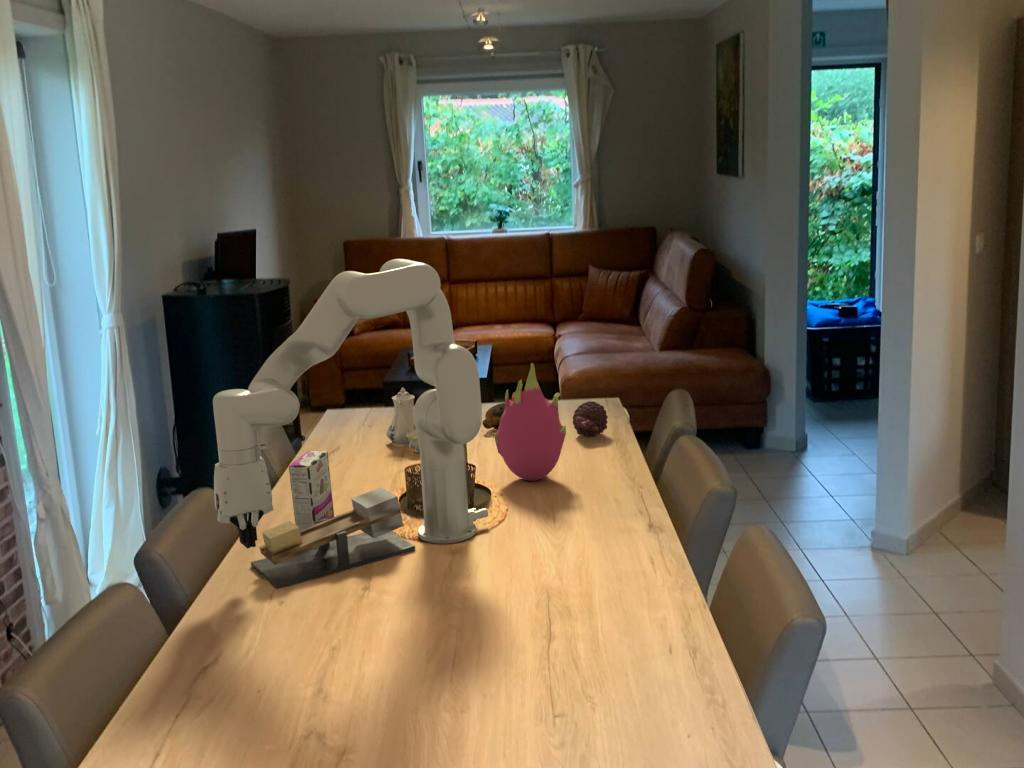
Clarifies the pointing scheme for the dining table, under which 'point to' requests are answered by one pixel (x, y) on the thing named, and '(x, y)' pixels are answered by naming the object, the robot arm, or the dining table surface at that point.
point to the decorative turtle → (493, 416)
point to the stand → (332, 558)
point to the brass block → (282, 538)
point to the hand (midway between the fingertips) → (249, 545)
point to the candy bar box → (311, 489)
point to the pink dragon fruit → (530, 431)
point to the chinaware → (403, 422)
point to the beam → (349, 523)
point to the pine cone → (590, 419)
